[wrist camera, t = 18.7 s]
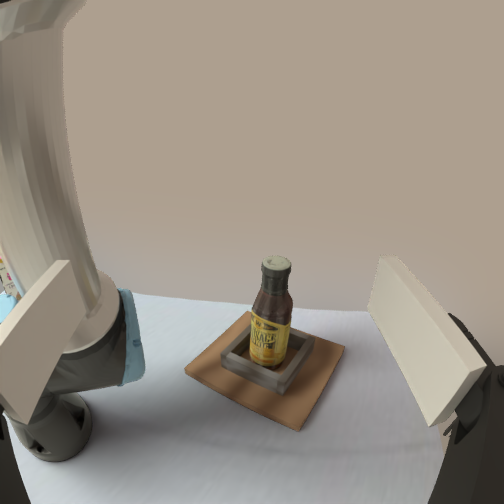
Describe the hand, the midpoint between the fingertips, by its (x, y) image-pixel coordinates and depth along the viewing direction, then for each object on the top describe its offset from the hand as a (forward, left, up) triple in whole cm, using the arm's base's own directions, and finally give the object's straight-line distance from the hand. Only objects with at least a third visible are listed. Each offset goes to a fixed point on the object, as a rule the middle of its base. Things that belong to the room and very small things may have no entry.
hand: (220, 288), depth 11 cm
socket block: (-10, +24, -34) cm, 43 cm away
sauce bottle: (-10, +24, -33) cm, 42 cm away
